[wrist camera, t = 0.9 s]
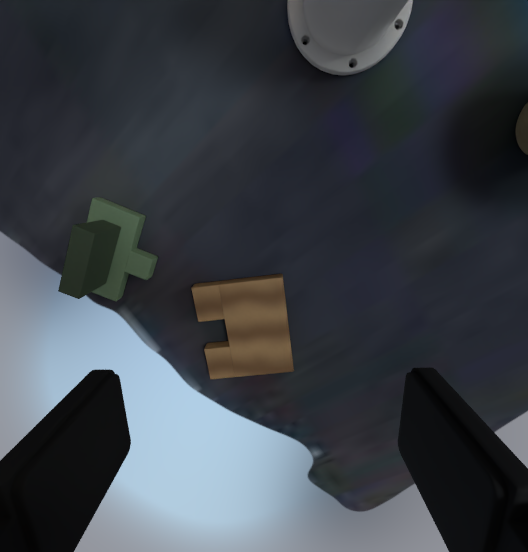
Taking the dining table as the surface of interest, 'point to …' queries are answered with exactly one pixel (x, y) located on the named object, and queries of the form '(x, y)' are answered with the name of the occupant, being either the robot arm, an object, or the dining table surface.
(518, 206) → the dining table surface
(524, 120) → the plant pot
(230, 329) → the notched brown wooden block
